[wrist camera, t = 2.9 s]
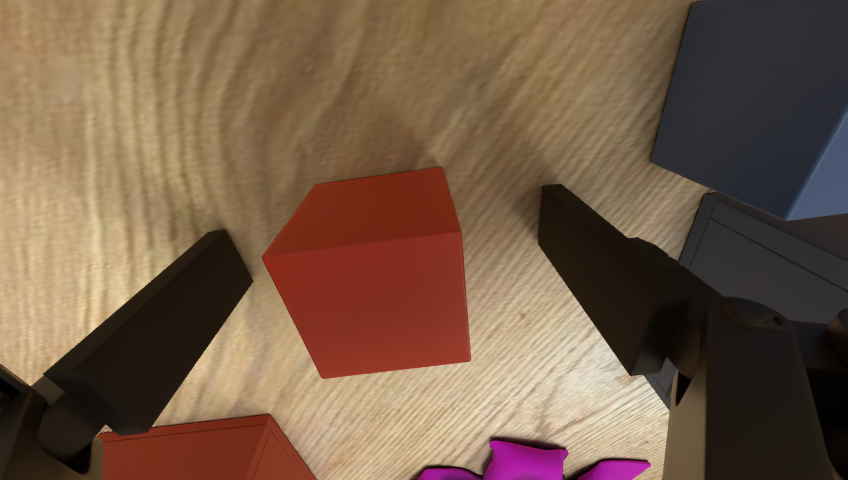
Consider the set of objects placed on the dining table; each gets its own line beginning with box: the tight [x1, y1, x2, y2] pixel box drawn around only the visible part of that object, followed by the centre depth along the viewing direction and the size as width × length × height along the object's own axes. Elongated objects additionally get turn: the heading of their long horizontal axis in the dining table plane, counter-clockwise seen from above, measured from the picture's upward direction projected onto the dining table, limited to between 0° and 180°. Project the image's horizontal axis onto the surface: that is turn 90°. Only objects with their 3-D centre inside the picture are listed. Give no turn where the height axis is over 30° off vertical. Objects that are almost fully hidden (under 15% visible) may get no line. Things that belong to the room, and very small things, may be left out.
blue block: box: [651, 0, 848, 221], centre depth 8 cm, size 5×5×5 cm
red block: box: [262, 167, 471, 379], centre depth 11 cm, size 5×5×5 cm
